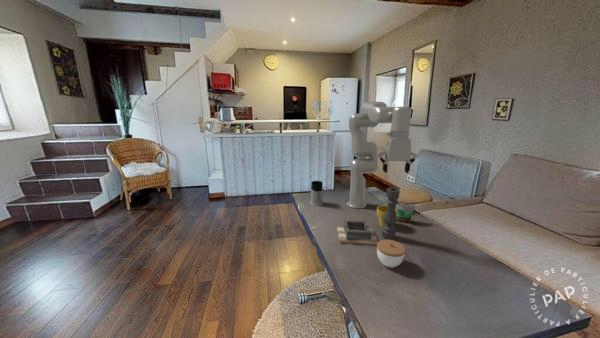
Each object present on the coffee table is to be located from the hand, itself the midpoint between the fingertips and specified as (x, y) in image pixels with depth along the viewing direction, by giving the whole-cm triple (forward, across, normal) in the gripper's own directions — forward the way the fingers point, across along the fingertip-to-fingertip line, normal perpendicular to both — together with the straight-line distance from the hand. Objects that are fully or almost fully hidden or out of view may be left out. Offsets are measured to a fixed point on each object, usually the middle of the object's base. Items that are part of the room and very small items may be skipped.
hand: (395, 172), depth 105 cm
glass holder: (+33, -34, +40) cm, 62 cm away
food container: (+34, +13, +19) cm, 41 cm away
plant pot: (+34, +2, +13) cm, 36 cm away
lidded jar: (+34, -6, -20) cm, 40 cm away
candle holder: (+34, 0, +1) cm, 34 cm away
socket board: (+34, -16, 0) cm, 37 cm away
